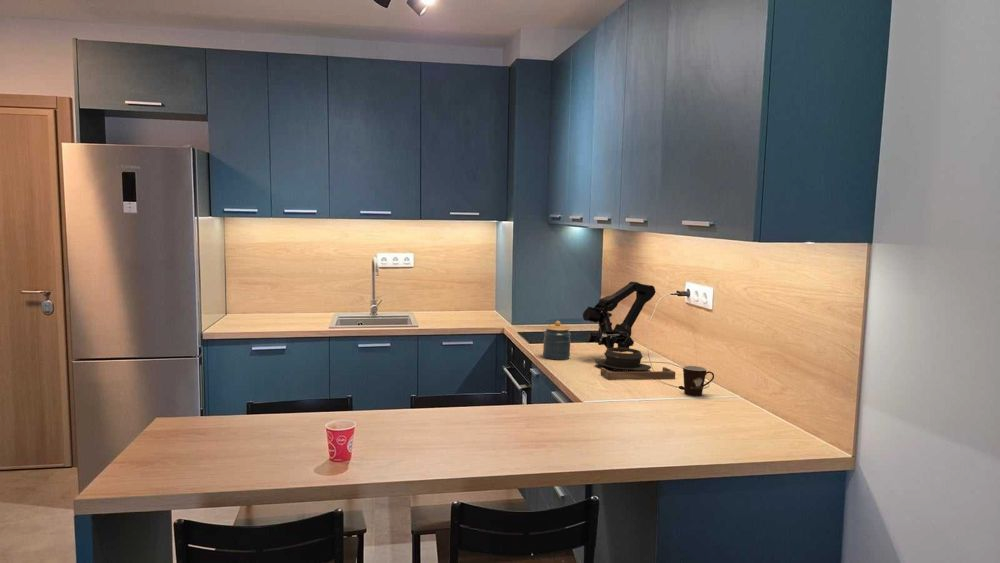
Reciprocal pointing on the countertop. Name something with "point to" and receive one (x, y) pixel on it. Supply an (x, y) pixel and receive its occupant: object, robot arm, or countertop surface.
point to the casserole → (623, 359)
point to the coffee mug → (694, 380)
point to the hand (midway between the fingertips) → (611, 353)
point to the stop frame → (639, 374)
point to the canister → (557, 342)
